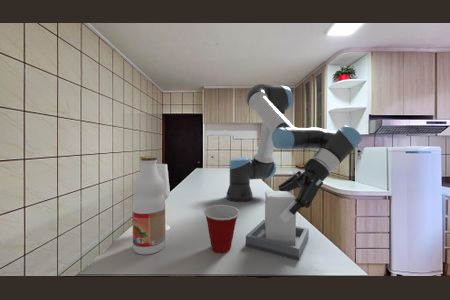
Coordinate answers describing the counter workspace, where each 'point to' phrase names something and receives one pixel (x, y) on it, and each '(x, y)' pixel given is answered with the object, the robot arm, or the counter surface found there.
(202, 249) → the counter surface
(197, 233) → the counter surface
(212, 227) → the plastic cup
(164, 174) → the champagne flute
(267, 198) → the supplement box
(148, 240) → the fruit juice
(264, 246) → the tray
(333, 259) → the counter surface
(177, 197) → the counter surface
